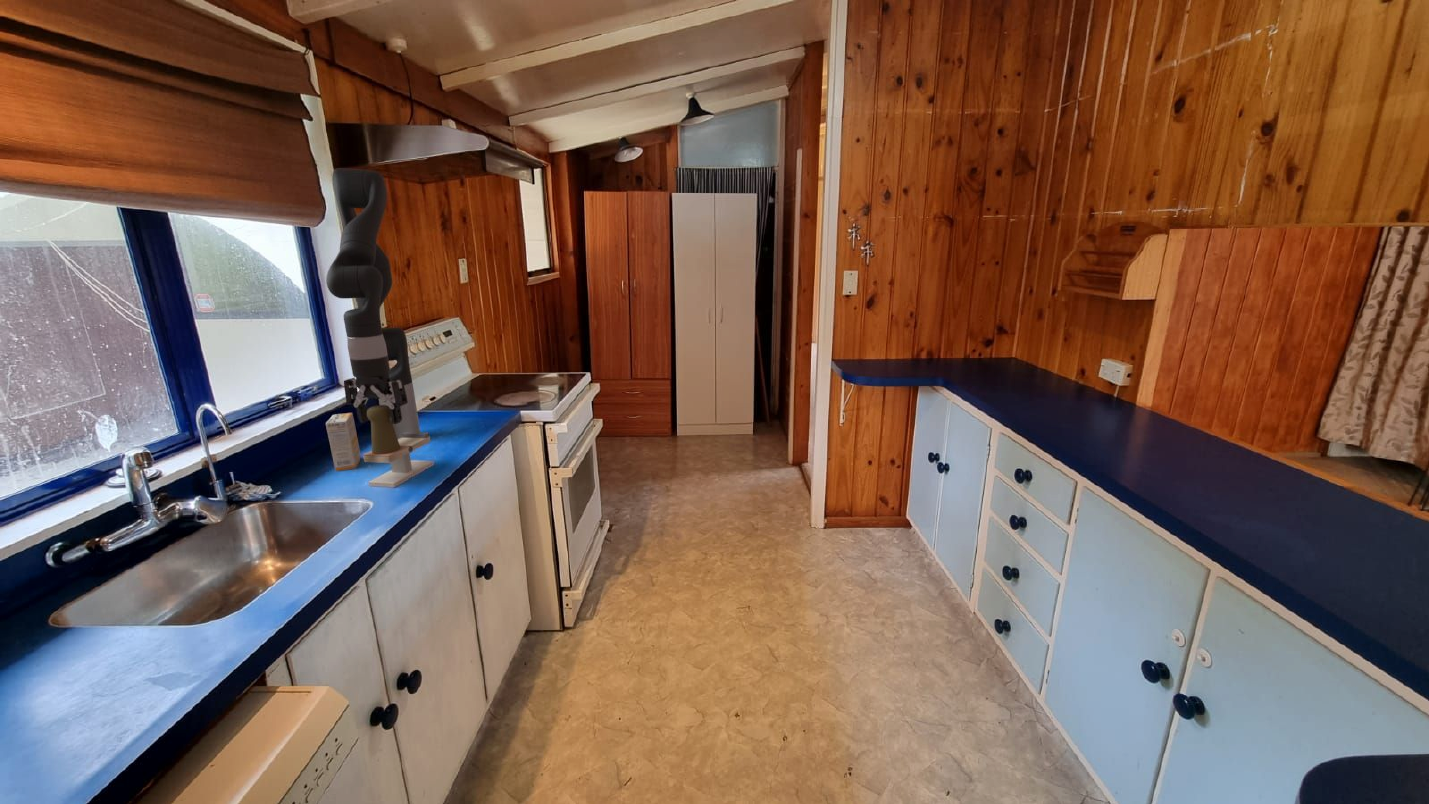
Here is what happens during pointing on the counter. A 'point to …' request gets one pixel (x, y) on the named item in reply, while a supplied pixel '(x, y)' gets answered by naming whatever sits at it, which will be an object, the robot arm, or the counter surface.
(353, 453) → the supplement box
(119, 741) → the counter surface
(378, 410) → the cork
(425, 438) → the seesaw
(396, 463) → the seesaw stand
